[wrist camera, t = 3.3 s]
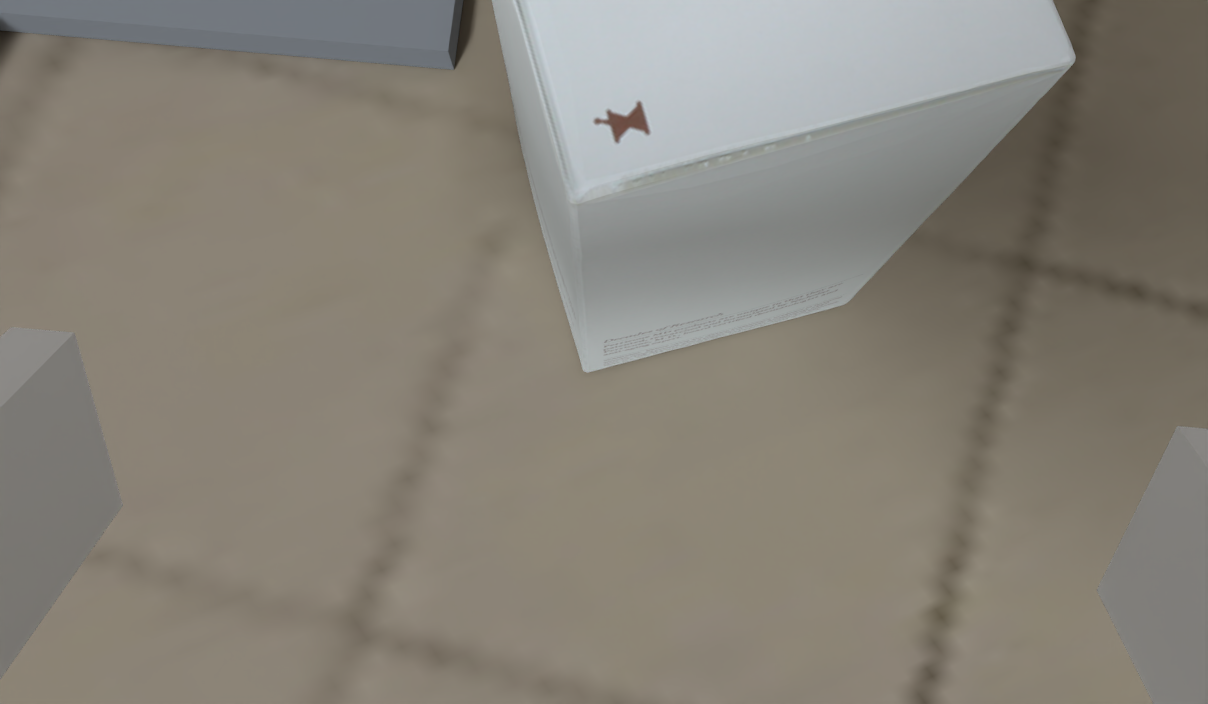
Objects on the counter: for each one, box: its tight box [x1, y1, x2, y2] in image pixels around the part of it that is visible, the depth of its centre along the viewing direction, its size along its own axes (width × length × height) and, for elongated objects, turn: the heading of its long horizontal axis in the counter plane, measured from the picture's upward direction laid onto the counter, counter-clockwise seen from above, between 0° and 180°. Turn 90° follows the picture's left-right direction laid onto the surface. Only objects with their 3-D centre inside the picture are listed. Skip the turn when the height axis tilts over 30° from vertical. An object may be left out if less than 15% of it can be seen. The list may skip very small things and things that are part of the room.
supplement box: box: [492, 0, 1076, 372], centre depth 19 cm, size 7×7×13 cm
